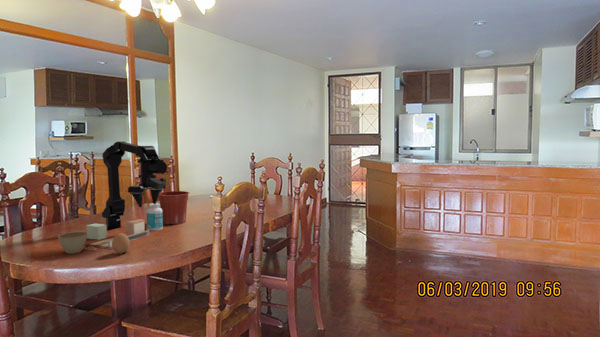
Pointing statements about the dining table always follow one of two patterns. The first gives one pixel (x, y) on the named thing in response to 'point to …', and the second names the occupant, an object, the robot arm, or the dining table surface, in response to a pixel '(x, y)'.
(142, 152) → the robot arm
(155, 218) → the pill bottle
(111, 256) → the dining table surface
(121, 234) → the egg
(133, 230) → the carton
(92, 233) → the pale green block
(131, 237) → the shelf
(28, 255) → the dining table surface
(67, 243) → the bowl
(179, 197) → the flower pot
